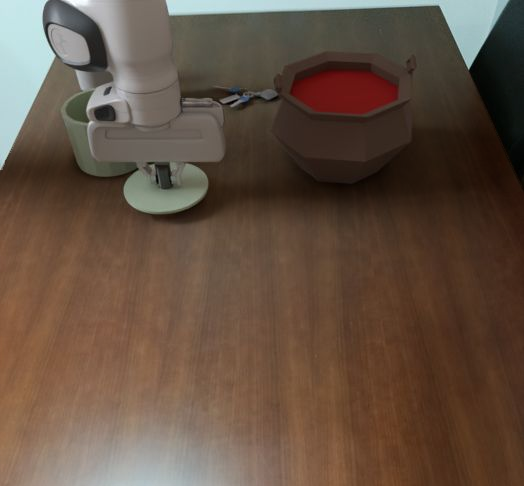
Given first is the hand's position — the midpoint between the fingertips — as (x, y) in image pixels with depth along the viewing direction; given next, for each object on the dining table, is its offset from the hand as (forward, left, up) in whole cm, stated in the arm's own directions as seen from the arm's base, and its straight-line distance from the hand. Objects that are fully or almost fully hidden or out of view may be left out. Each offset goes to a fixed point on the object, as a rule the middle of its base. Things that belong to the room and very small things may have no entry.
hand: (165, 182), depth 93 cm
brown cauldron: (+28, +10, -3) cm, 30 cm away
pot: (-12, +12, -3) cm, 17 cm away
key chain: (+10, +31, -3) cm, 33 cm away
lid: (0, 0, -1) cm, 1 cm away
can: (-20, +37, -3) cm, 42 cm away
